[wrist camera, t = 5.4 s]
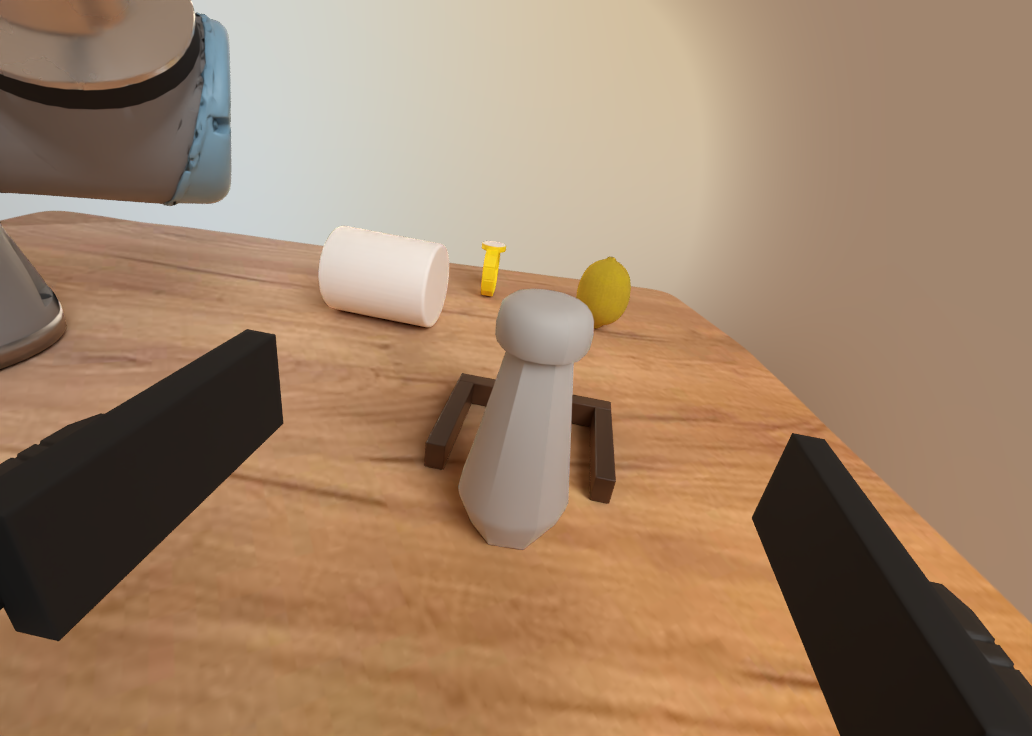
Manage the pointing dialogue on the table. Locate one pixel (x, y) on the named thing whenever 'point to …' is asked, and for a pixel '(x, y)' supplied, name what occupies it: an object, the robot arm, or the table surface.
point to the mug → (384, 275)
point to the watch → (491, 266)
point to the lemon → (605, 290)
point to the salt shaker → (527, 420)
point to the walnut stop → (582, 413)
